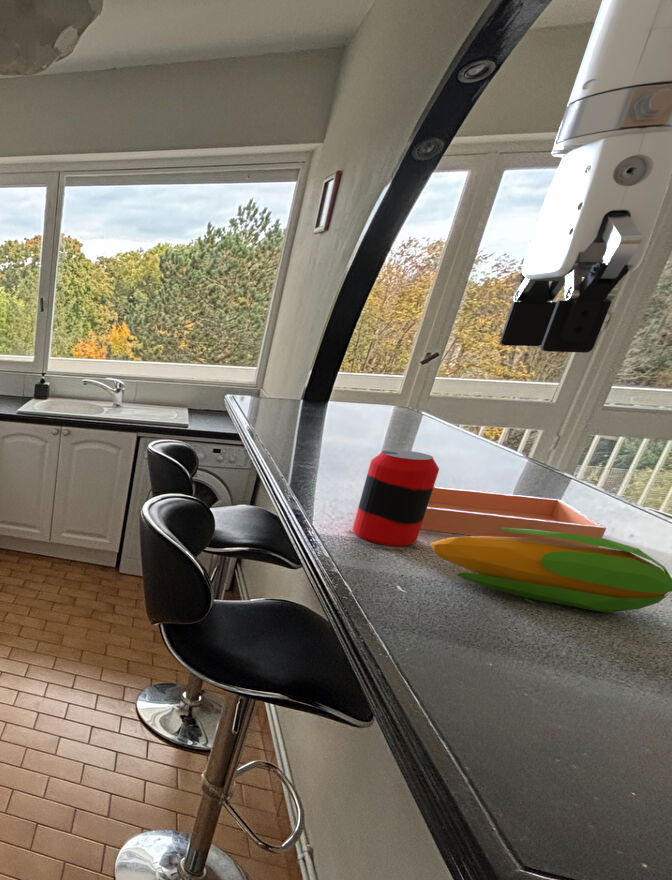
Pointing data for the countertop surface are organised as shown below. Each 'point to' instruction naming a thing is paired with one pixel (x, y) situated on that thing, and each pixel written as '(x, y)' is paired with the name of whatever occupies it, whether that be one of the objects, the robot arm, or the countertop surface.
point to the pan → (505, 515)
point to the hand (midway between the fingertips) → (540, 348)
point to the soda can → (395, 497)
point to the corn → (560, 569)
